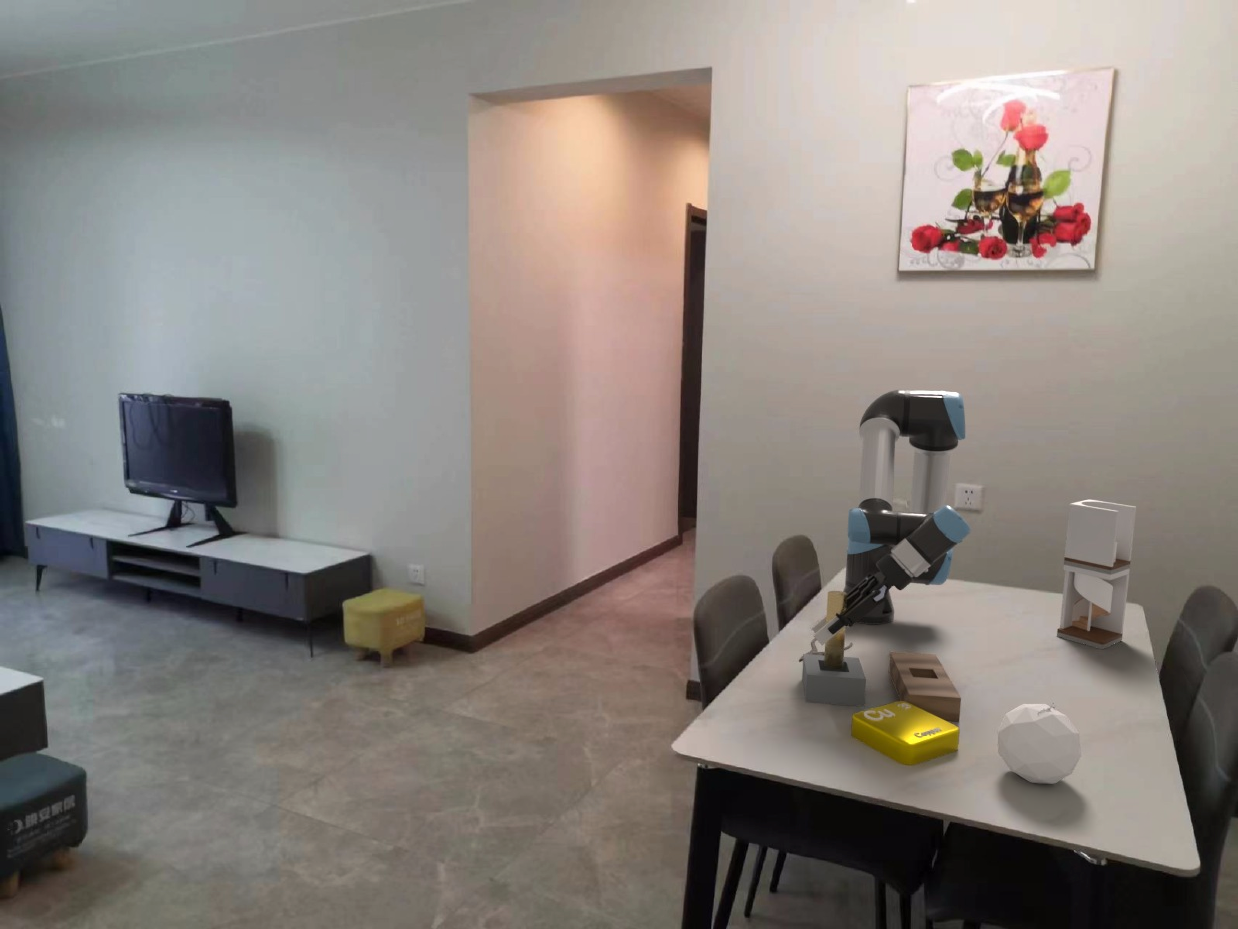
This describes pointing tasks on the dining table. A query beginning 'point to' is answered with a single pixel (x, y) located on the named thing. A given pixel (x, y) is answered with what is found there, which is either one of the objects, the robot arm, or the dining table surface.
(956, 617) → the dining table surface
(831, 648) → the golden rounded rod
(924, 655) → the beam
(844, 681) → the seat block
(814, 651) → the pliers
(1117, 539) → the spiral staircase model
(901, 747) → the element tile
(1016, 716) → the geodesic sphere
